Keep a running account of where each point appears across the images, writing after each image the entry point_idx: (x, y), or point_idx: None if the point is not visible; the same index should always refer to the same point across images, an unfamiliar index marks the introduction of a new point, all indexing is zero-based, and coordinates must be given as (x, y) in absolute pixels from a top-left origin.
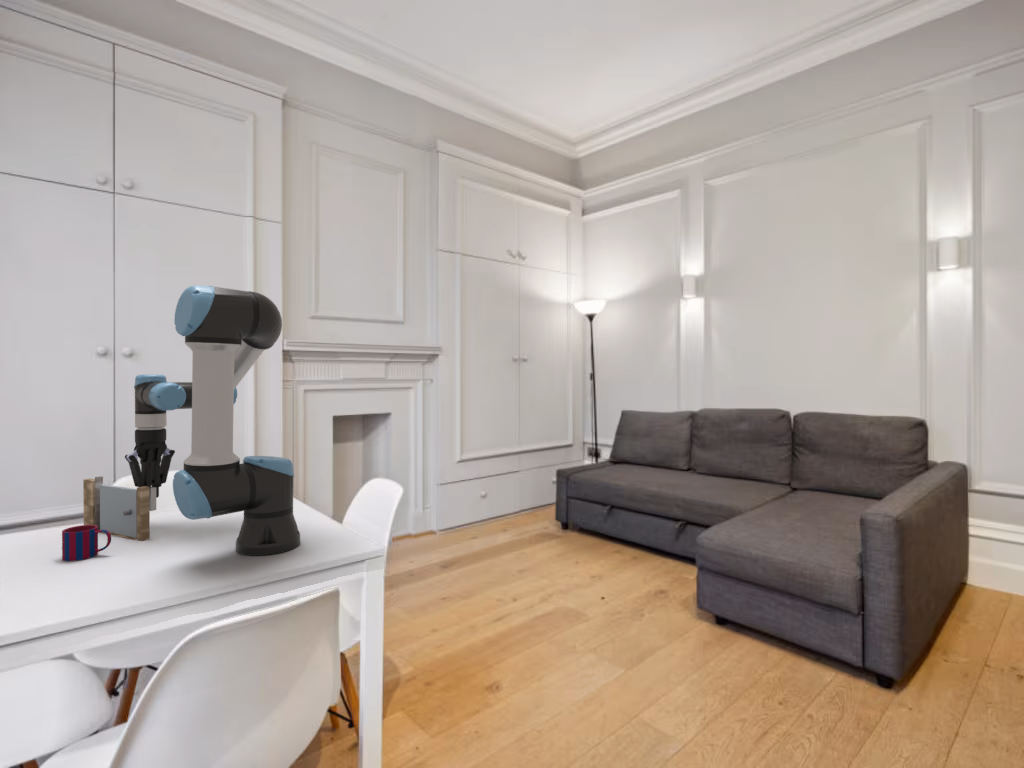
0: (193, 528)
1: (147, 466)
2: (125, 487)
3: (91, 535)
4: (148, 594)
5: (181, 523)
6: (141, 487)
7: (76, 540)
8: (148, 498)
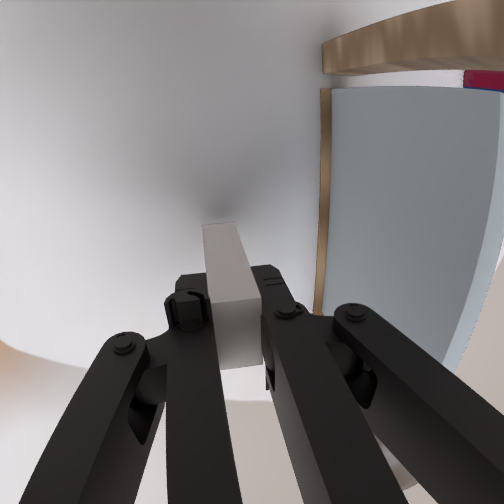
0: (128, 30)
1: (391, 498)
2: (468, 294)
3: None
4: None
5: (105, 162)
6: None
7: None
8: (445, 6)
